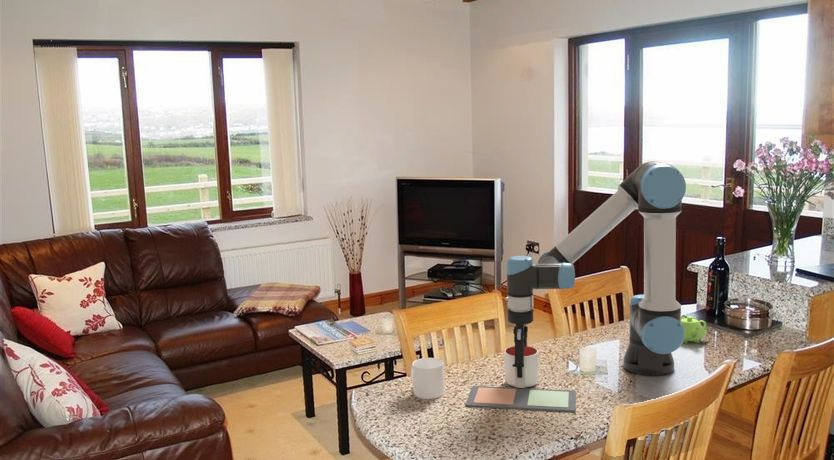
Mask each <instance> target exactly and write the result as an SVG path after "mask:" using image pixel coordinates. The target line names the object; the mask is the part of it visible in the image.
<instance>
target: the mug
mask: <svg viewBox="0 0 834 460" xmlns="http://www.w3.org/2000/svg"><path fill="white" fill-rule="evenodd" d="M411 364H412V365H411V367H410V368H411V369H410V378H411V381H412V383H413V395H414V396H415V397H416V398H419V399H422V400H434V399H438V398H441V397H443V396H444V394H445V368H444V364H445V363H444V360H442V359H440V358H436V357H424V358H417V359H415V360H414V361H413V362H412V363H411Z"/></svg>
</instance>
